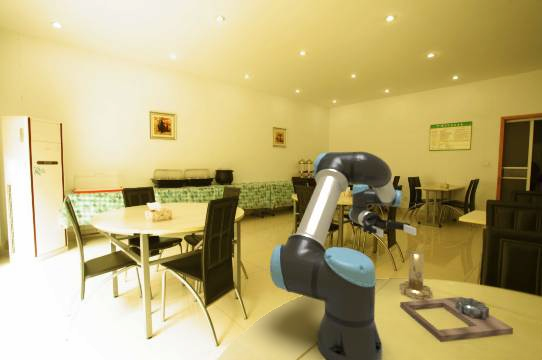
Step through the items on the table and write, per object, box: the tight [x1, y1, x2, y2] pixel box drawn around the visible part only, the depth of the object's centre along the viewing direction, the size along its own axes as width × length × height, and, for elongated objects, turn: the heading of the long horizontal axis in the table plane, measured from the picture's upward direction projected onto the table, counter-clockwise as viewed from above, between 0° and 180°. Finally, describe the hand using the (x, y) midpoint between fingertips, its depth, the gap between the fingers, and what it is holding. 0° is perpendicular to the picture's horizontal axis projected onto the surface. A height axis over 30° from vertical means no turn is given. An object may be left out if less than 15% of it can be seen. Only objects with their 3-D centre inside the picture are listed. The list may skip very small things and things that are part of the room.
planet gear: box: [399, 250, 433, 301], centre depth 88 cm, size 10×10×14 cm
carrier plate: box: [399, 296, 514, 343], centre depth 74 cm, size 21×16×2 cm
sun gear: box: [455, 296, 490, 320], centre depth 75 cm, size 8×8×2 cm
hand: (399, 233), depth 97 cm, fingers open, 13 cm apart
